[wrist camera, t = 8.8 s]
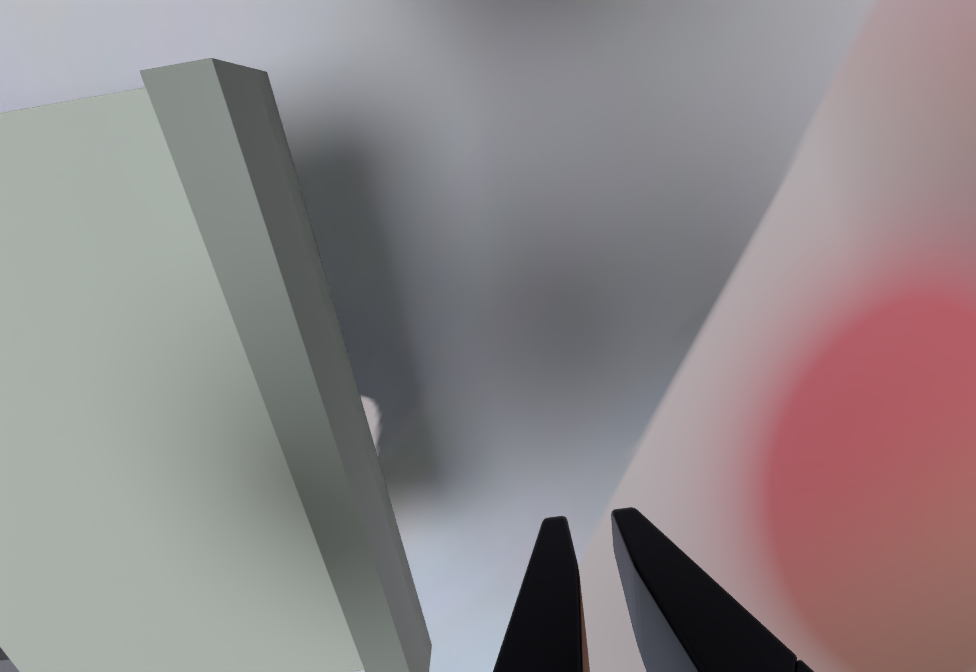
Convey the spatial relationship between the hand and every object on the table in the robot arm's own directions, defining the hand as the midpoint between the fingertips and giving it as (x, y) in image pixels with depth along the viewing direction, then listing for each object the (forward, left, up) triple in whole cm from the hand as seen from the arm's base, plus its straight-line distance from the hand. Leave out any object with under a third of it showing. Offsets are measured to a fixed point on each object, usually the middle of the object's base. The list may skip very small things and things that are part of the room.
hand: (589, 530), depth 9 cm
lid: (+11, 0, -4) cm, 12 cm away
